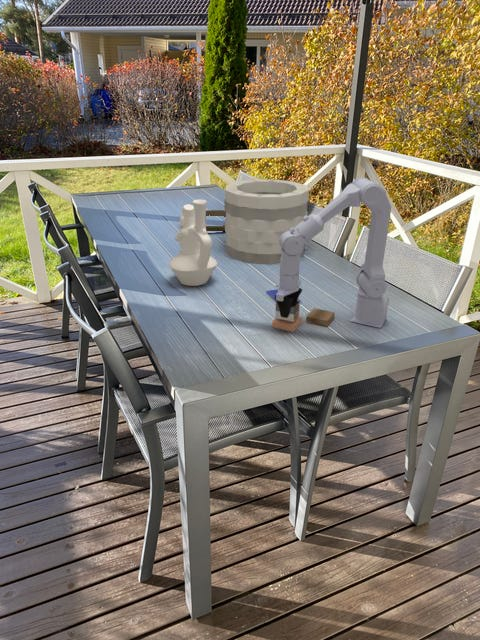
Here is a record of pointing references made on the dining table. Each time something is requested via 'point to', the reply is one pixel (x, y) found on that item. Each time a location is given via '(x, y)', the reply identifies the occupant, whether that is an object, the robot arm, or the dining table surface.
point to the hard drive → (273, 292)
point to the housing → (292, 313)
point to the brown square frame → (215, 213)
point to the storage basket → (262, 218)
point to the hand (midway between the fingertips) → (287, 313)
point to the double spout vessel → (193, 246)
